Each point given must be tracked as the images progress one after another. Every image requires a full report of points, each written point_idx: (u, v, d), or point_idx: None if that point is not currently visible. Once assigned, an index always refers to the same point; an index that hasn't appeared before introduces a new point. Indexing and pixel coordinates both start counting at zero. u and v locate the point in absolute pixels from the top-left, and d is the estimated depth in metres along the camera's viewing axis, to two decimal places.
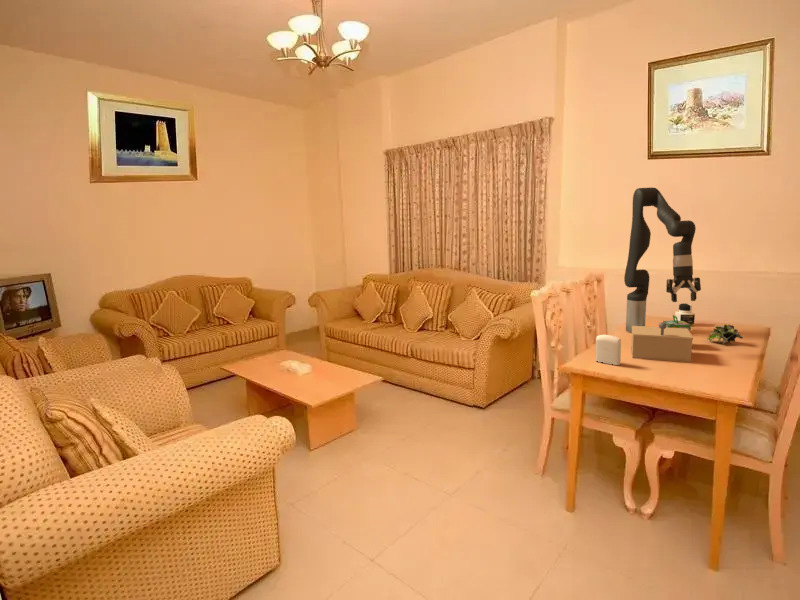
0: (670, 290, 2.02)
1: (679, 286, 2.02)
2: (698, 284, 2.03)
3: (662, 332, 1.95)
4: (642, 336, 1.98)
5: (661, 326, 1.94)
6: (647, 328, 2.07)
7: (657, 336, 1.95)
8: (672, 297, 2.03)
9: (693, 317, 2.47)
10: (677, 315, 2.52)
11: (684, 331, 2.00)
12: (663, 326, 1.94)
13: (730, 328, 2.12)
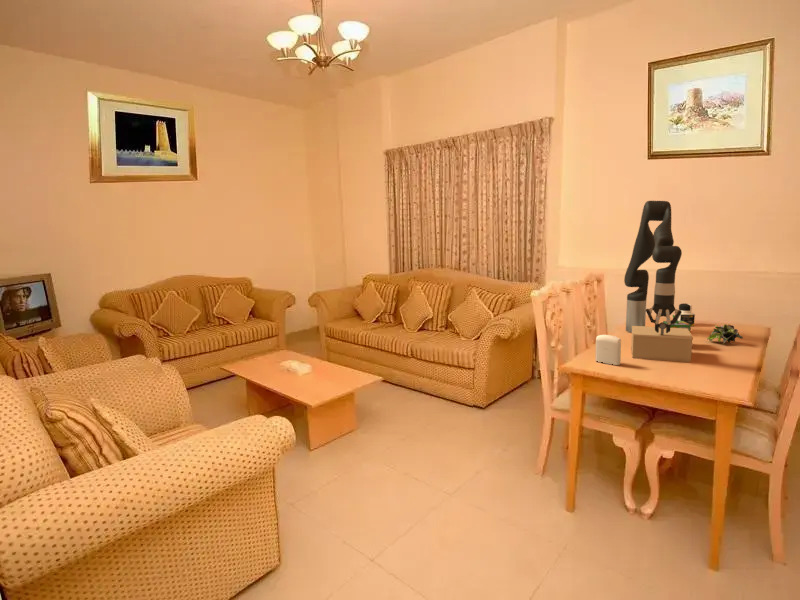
0: (651, 320, 1.95)
1: (658, 316, 1.94)
2: (676, 317, 1.91)
3: (662, 332, 1.95)
4: (642, 336, 1.98)
5: (661, 326, 1.94)
6: (647, 328, 2.07)
7: (657, 336, 1.95)
8: (655, 327, 1.96)
9: (693, 317, 2.47)
10: None
11: (684, 331, 2.00)
12: (663, 326, 1.94)
13: (730, 328, 2.12)
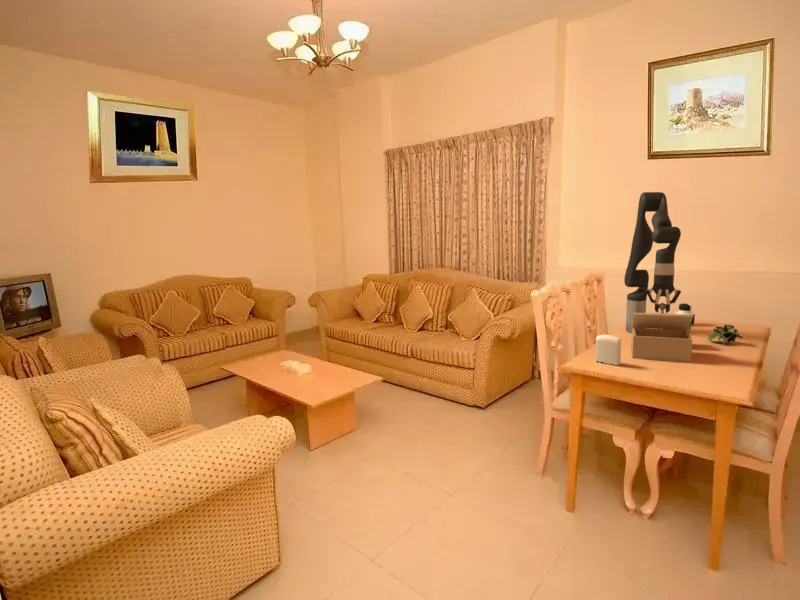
0: (651, 300, 1.99)
1: (658, 296, 1.97)
2: (675, 296, 1.95)
3: (662, 311, 1.97)
4: (643, 314, 1.99)
5: (661, 305, 1.98)
6: None
7: (657, 314, 1.97)
8: None
9: (693, 317, 2.47)
10: None
11: None
12: (663, 305, 1.97)
13: (730, 328, 2.12)
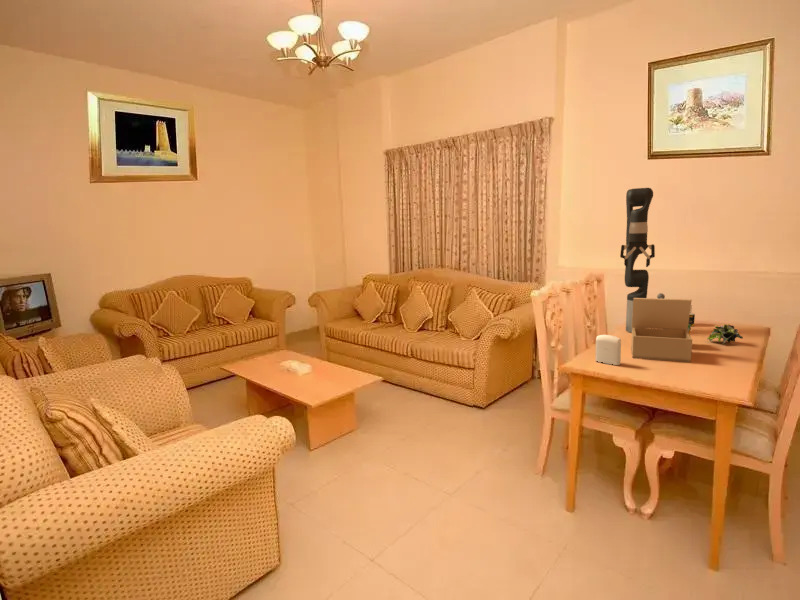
0: (621, 255, 2.14)
1: (630, 252, 2.12)
2: (652, 251, 2.09)
3: (661, 299, 2.03)
4: (642, 299, 2.04)
5: (659, 294, 2.05)
6: None
7: (657, 299, 2.02)
8: (624, 262, 2.15)
9: (693, 317, 2.47)
10: None
11: None
12: (661, 294, 2.05)
13: (730, 328, 2.12)
